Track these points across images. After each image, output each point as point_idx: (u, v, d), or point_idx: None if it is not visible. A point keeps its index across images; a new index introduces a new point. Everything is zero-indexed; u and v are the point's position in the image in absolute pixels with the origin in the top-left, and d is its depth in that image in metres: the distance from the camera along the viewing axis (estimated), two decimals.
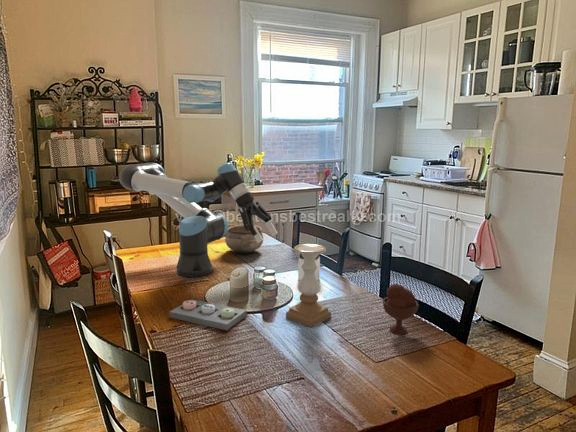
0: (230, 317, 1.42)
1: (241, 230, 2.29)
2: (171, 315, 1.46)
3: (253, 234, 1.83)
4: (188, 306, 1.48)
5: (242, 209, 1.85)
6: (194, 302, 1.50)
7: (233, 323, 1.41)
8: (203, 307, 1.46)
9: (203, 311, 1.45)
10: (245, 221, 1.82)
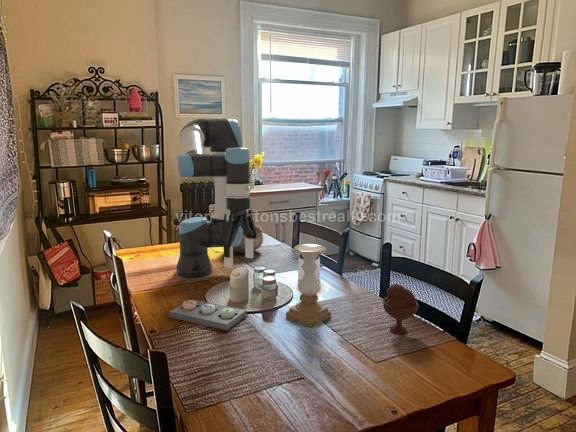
0: (230, 317, 1.42)
1: None
2: (171, 315, 1.46)
3: (225, 255, 1.36)
4: (188, 306, 1.48)
5: (229, 218, 1.36)
6: (194, 302, 1.50)
7: (233, 323, 1.41)
8: (203, 307, 1.46)
9: (203, 311, 1.45)
10: (224, 236, 1.35)
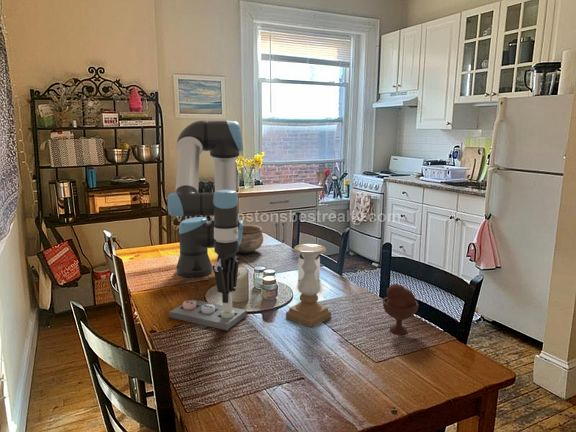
0: (230, 318, 1.42)
1: None
2: (171, 315, 1.46)
3: (223, 301, 1.41)
4: (188, 306, 1.48)
5: (218, 271, 1.35)
6: (194, 302, 1.50)
7: (233, 323, 1.41)
8: (203, 307, 1.46)
9: (203, 311, 1.45)
10: (220, 285, 1.38)
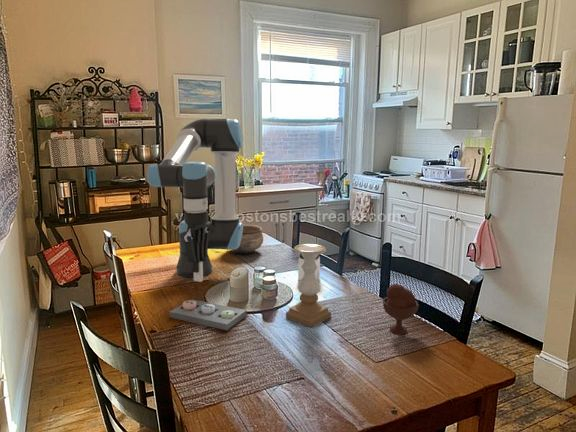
0: None
1: None
2: (171, 315, 1.46)
3: (194, 271, 1.45)
4: (188, 306, 1.48)
5: (188, 240, 1.39)
6: (194, 302, 1.50)
7: (233, 323, 1.41)
8: (203, 307, 1.46)
9: (203, 311, 1.45)
10: (190, 255, 1.41)
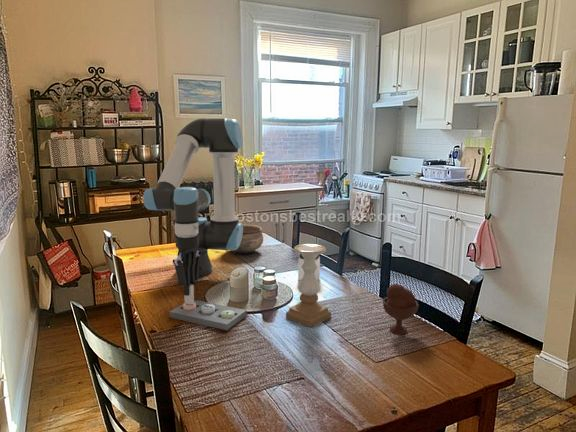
0: None
1: None
2: (171, 315, 1.46)
3: (184, 294, 1.47)
4: (188, 307, 1.48)
5: (178, 264, 1.41)
6: (194, 303, 1.50)
7: (233, 323, 1.41)
8: (203, 307, 1.46)
9: (203, 311, 1.45)
10: (180, 279, 1.44)
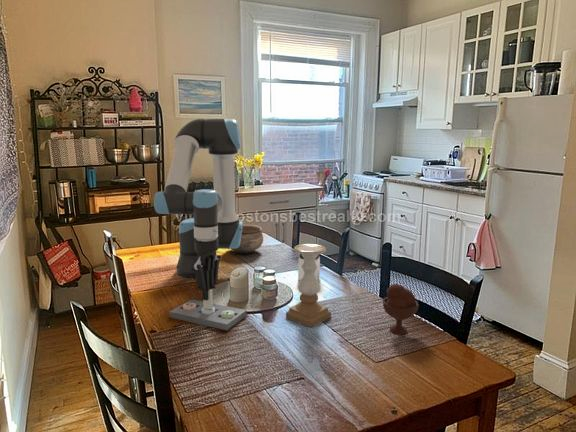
0: None
1: None
2: (171, 315, 1.46)
3: (203, 298, 1.44)
4: (188, 308, 1.48)
5: (197, 269, 1.38)
6: (194, 304, 1.50)
7: (233, 323, 1.41)
8: (203, 309, 1.46)
9: (203, 313, 1.45)
10: (200, 283, 1.41)
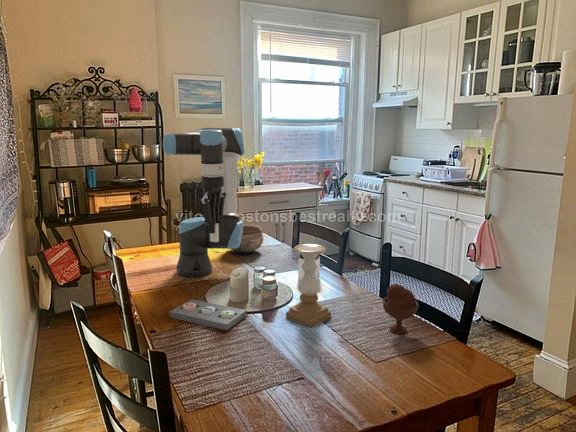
0: None
1: None
2: (171, 315, 1.46)
3: (210, 231, 1.56)
4: (188, 308, 1.48)
5: (205, 202, 1.50)
6: (194, 304, 1.50)
7: (233, 323, 1.41)
8: (203, 309, 1.46)
9: (203, 313, 1.45)
10: (207, 216, 1.53)
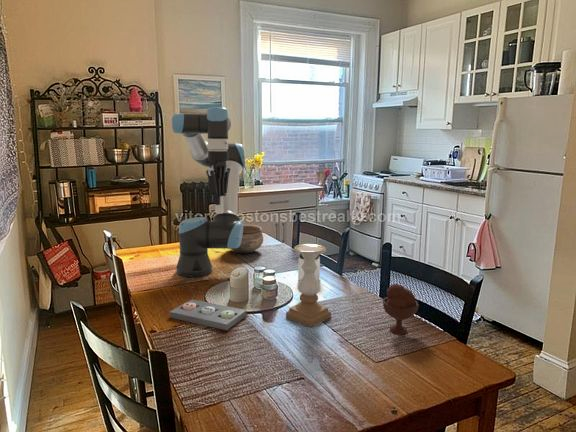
0: None
1: None
2: (171, 315, 1.46)
3: (215, 203, 1.67)
4: (188, 308, 1.48)
5: (211, 174, 1.61)
6: (194, 304, 1.50)
7: (233, 323, 1.41)
8: (203, 309, 1.46)
9: (203, 313, 1.45)
10: (213, 188, 1.64)
